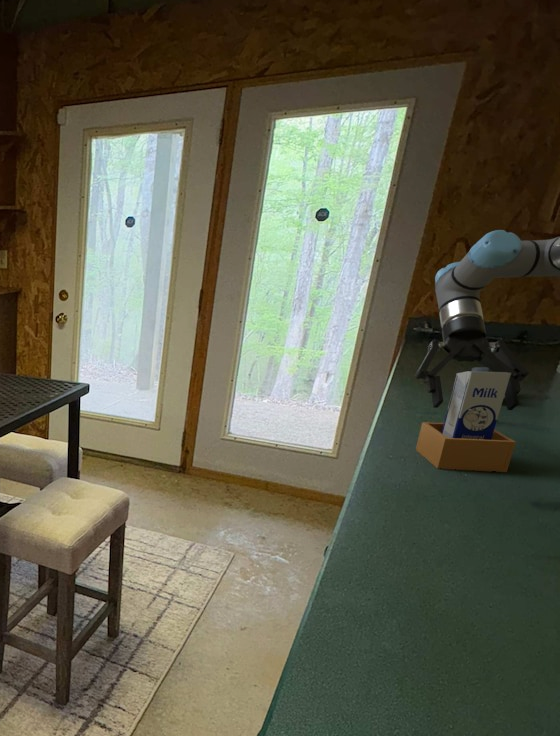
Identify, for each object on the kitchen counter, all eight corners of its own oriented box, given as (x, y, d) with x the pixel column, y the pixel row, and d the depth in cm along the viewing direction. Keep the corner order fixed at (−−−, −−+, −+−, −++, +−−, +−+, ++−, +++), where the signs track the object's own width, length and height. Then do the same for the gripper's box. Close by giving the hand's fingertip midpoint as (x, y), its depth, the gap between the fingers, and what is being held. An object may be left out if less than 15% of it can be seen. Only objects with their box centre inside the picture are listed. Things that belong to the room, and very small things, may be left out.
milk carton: (446, 460, 137) (471, 370, 129) (435, 451, 143) (458, 364, 135) (485, 463, 135) (512, 371, 127) (472, 453, 140) (497, 365, 133)
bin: (478, 453, 143) (487, 424, 140) (506, 472, 132) (516, 441, 129) (415, 450, 146) (422, 422, 144) (437, 468, 135) (445, 438, 132)
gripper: (518, 335, 141) (534, 416, 134) (392, 334, 148) (401, 412, 140) (538, 314, 135) (557, 398, 127) (406, 314, 141) (415, 394, 134)
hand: (475, 405), depth 134 cm, fingers open, 13 cm apart
